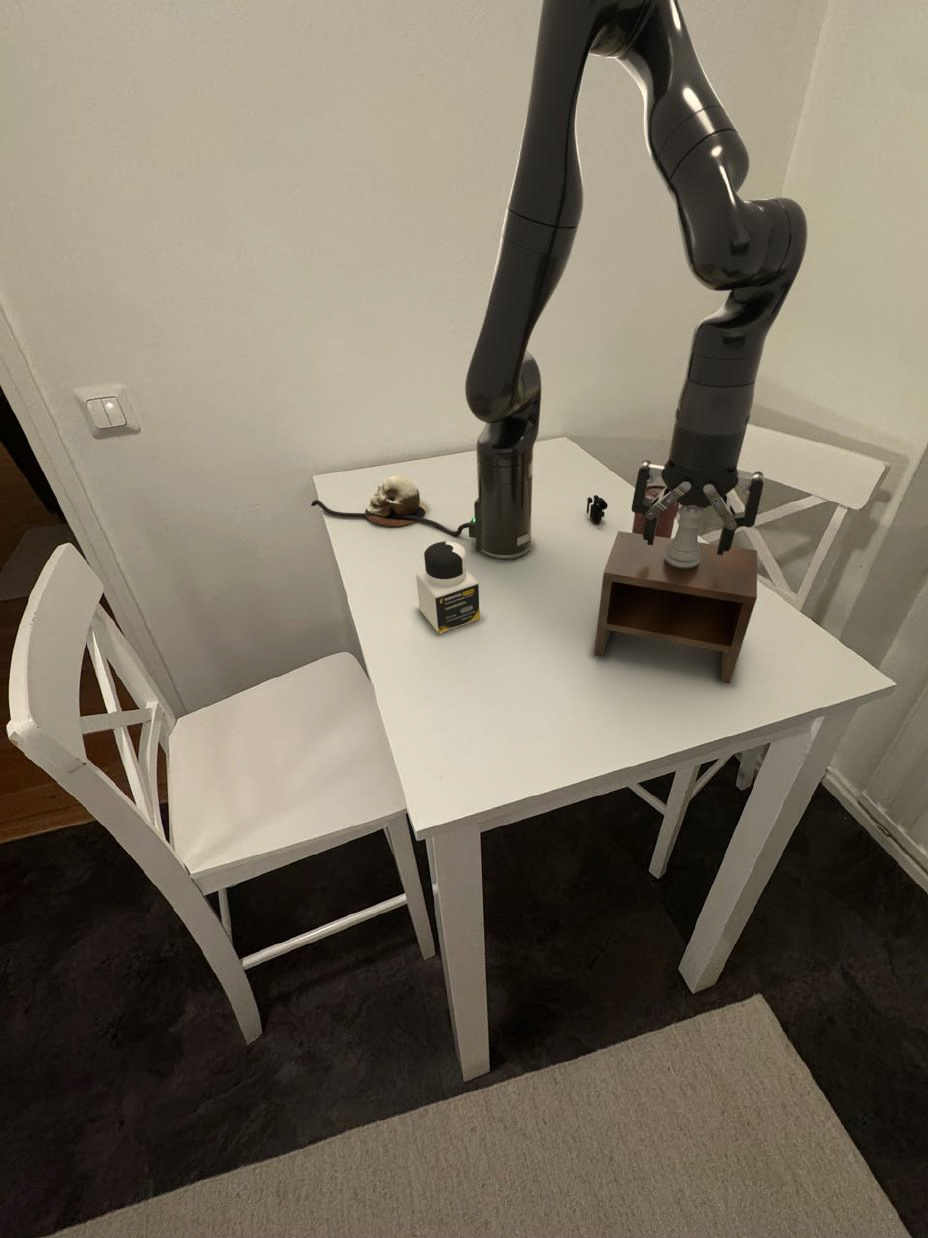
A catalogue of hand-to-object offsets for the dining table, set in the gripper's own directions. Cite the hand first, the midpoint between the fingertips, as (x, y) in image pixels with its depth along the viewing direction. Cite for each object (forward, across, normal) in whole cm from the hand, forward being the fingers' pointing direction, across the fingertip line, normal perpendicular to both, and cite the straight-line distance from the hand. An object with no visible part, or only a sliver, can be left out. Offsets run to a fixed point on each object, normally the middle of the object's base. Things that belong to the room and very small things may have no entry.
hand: (684, 546), depth 76 cm
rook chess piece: (+2, 0, 0) cm, 2 cm away
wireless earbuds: (+16, +16, -33) cm, 40 cm away
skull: (+16, +55, -25) cm, 63 cm away
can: (+16, +5, -19) cm, 26 cm away
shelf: (+16, 0, 0) cm, 16 cm away
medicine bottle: (+16, +32, +3) cm, 36 cm away
